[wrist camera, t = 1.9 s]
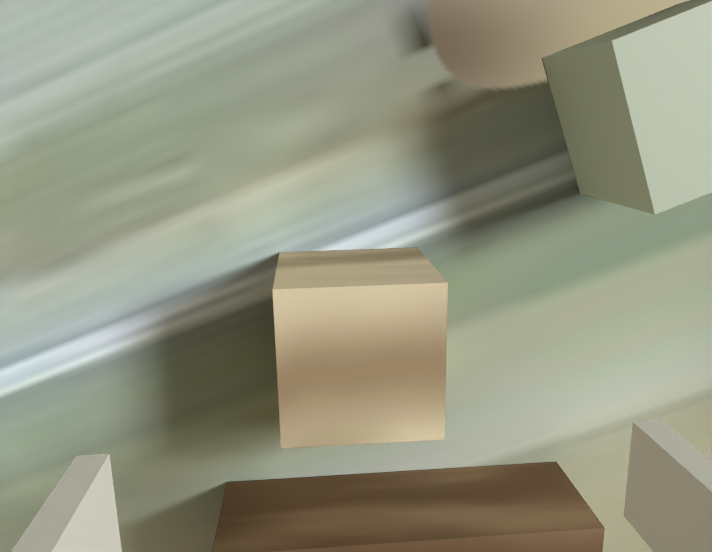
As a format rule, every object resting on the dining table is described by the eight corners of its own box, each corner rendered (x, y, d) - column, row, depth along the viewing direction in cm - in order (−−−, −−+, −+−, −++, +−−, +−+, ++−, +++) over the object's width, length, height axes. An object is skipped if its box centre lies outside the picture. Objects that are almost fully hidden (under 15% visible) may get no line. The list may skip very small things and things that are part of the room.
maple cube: (279, 251, 26) (272, 289, 21) (416, 247, 27) (447, 282, 21) (286, 380, 28) (281, 448, 22) (415, 373, 28) (444, 439, 23)
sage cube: (541, 58, 25) (611, 40, 19) (677, 4, 25) (789, -31, 19) (579, 193, 27) (654, 214, 21) (707, 143, 27) (819, 149, 21)
